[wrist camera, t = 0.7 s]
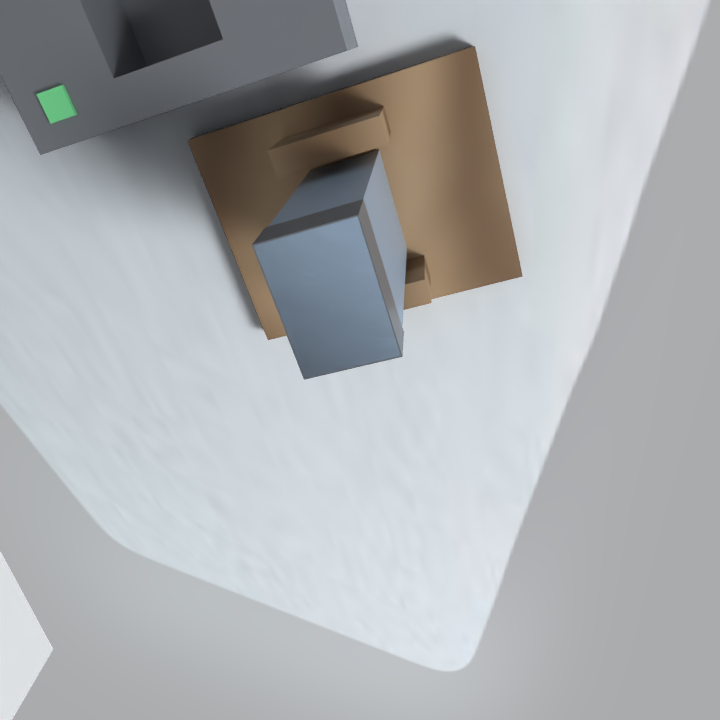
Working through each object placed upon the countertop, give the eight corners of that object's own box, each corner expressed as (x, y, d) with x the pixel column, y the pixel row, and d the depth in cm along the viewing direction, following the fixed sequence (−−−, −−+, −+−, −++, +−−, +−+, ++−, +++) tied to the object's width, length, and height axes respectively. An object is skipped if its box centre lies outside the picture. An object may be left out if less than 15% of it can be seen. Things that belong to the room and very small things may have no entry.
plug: (379, 148, 31) (358, 214, 20) (408, 248, 33) (402, 356, 22) (308, 170, 31) (251, 244, 21) (340, 266, 34) (303, 379, 23)
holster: (473, 45, 29) (481, 49, 25) (519, 269, 34) (533, 302, 30) (193, 137, 32) (162, 153, 28) (271, 332, 37) (253, 370, 33)
